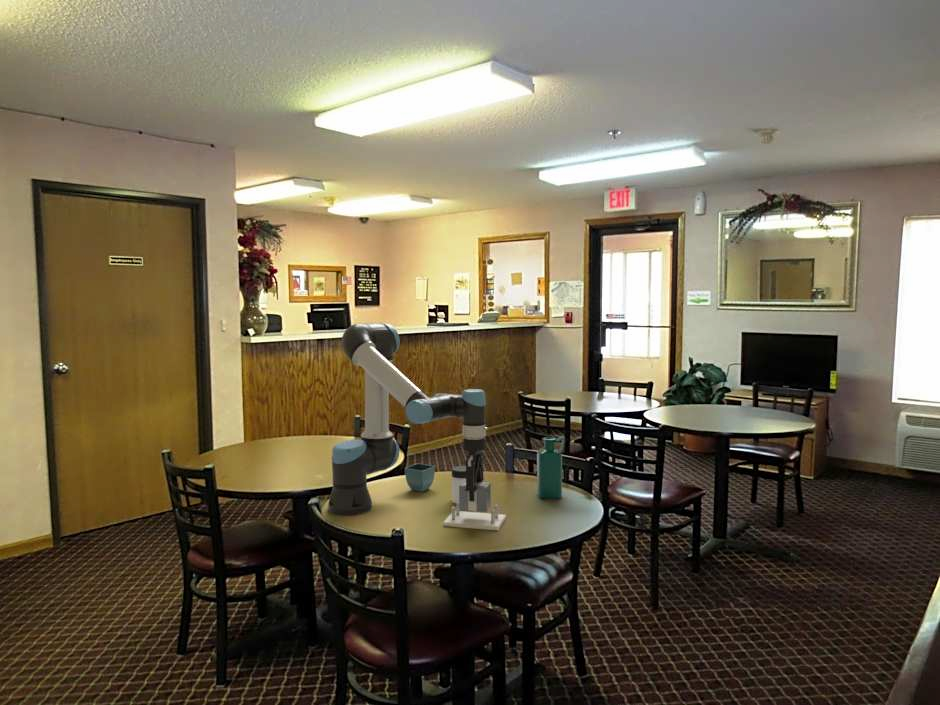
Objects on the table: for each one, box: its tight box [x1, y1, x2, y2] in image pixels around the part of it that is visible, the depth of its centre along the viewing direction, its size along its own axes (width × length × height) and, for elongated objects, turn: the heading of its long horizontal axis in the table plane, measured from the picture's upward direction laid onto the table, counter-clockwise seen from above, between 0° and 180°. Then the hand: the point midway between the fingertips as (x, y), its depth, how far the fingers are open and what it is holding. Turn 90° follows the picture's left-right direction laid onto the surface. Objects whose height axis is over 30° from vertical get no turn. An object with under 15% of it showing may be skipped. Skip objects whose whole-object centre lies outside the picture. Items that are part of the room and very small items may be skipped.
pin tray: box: [442, 502, 507, 531], centre depth 211 cm, size 18×12×5 cm, turn 75°
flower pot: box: [404, 462, 436, 493], centre depth 248 cm, size 9×9×9 cm
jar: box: [451, 465, 466, 504], centre depth 233 cm, size 9×8×12 cm
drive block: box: [459, 481, 492, 513], centre depth 210 cm, size 9×6×8 cm, turn 75°
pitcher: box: [536, 435, 567, 500], centre depth 239 cm, size 10×8×22 cm
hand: (475, 507), depth 210 cm, fingers closed on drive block, 6 cm apart
